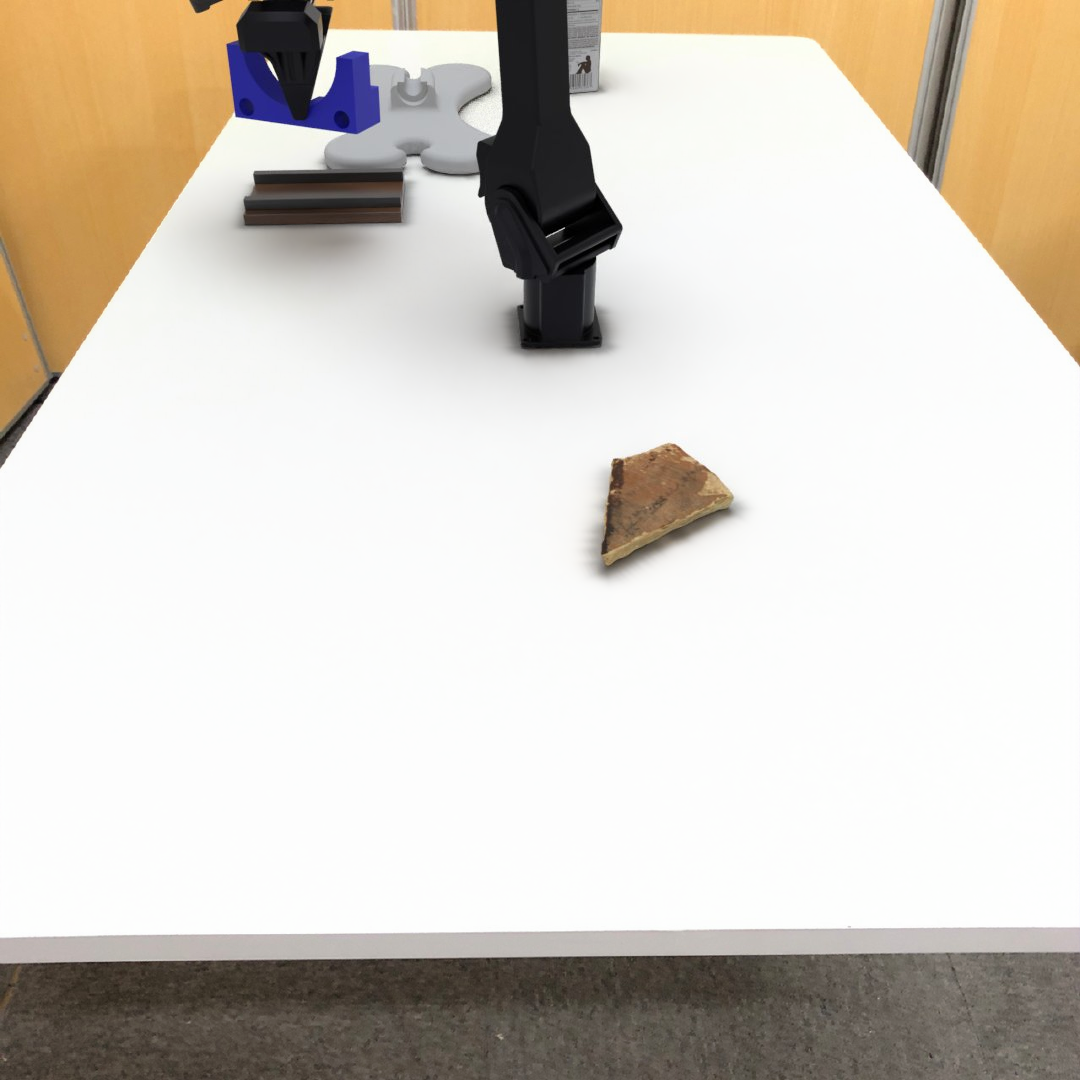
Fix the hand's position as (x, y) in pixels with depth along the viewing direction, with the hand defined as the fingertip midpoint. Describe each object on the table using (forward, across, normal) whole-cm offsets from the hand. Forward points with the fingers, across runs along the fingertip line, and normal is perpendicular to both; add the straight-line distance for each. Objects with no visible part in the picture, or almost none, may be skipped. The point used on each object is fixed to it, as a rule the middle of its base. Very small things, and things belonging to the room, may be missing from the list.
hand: (302, 109), depth 94 cm
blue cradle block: (+1, 0, 0) cm, 1 cm away
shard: (+11, +46, +26) cm, 54 cm away
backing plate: (+11, -7, 0) cm, 13 cm away
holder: (+12, -30, +9) cm, 33 cm away
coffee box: (+12, -44, +28) cm, 54 cm away
